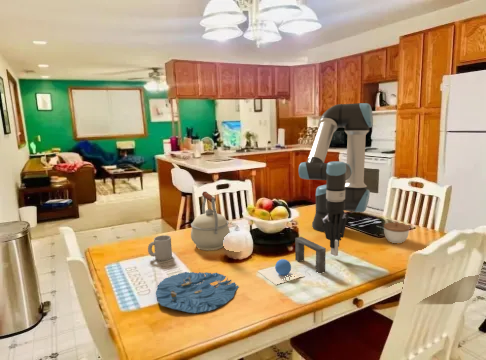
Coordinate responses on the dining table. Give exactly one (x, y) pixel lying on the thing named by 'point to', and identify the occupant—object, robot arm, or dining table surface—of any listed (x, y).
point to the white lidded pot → (396, 232)
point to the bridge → (319, 249)
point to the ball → (283, 267)
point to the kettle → (209, 227)
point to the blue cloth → (195, 291)
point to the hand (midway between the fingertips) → (334, 254)
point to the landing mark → (277, 275)
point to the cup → (161, 247)
